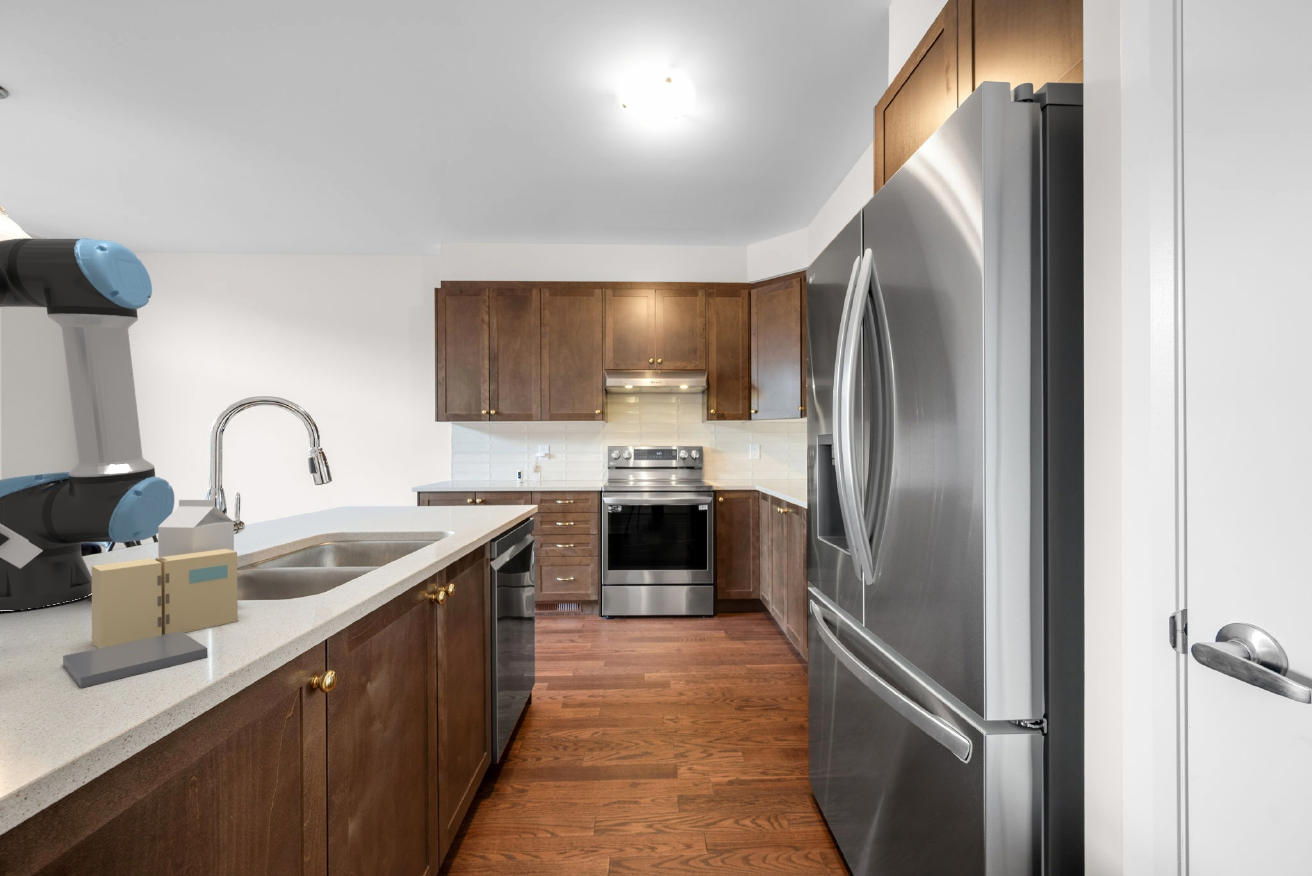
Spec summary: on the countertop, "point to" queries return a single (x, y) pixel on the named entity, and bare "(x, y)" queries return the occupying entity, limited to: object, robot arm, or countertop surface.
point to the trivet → (132, 658)
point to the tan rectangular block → (126, 602)
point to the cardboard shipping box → (198, 590)
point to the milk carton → (195, 529)
